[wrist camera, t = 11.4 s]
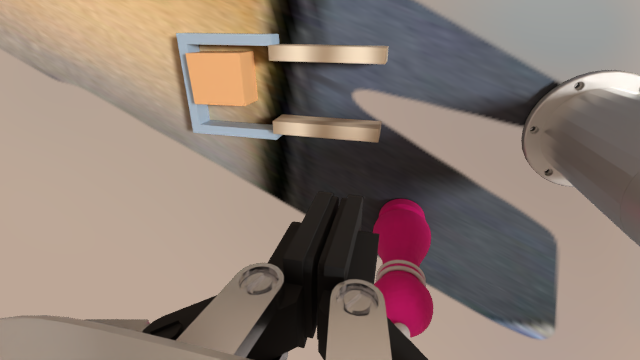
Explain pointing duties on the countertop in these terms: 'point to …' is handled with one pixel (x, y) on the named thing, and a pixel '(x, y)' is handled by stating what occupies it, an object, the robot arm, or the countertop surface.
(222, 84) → the block
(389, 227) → the pepper mill
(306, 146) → the countertop surface
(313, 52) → the pair of wooden slats
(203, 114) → the bay
